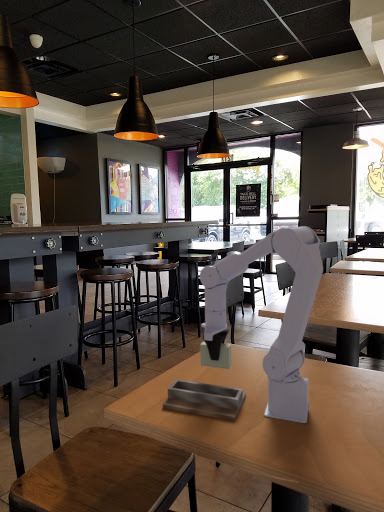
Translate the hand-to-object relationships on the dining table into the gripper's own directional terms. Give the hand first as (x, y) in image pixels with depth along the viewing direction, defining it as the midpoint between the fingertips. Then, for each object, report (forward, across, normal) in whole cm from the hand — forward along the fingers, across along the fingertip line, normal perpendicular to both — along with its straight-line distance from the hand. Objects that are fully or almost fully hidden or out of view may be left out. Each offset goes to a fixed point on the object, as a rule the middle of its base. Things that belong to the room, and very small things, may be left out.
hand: (216, 357), depth 101 cm
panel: (+2, 0, 0) cm, 2 cm away
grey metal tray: (+8, +10, 0) cm, 13 cm away
